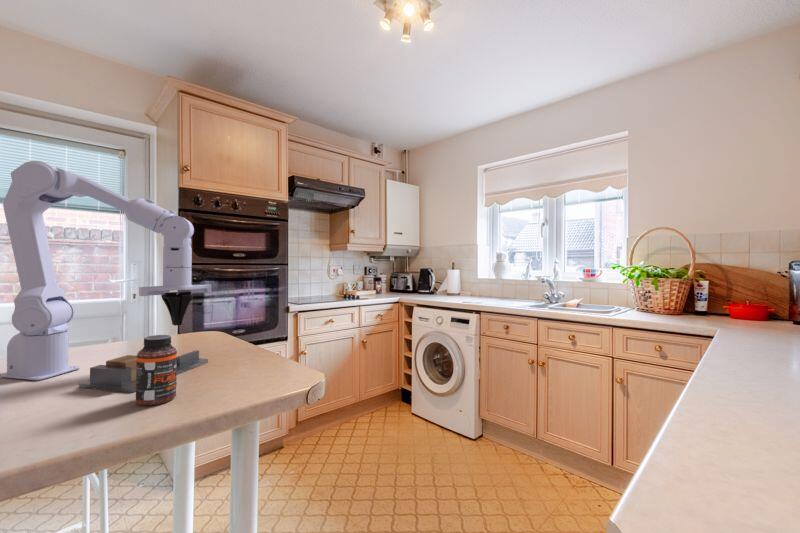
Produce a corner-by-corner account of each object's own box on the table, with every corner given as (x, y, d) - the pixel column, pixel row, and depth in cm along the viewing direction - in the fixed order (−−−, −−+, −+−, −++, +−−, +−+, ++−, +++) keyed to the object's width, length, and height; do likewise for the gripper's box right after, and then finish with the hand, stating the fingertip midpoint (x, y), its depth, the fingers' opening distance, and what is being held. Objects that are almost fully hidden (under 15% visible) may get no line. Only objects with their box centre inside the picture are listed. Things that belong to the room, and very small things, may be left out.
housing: (105, 381, 68) (106, 361, 68) (131, 372, 74) (131, 353, 74) (125, 383, 68) (125, 362, 68) (150, 374, 73) (150, 355, 73)
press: (78, 387, 67) (79, 366, 67) (164, 358, 87) (164, 343, 87) (132, 392, 65) (133, 371, 65) (208, 362, 85) (208, 345, 85)
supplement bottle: (155, 408, 59) (156, 341, 58) (126, 405, 60) (127, 339, 60) (184, 395, 64) (185, 334, 64) (157, 392, 66) (157, 332, 65)
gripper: (203, 266, 91) (202, 318, 91) (135, 266, 79) (134, 326, 80) (215, 267, 86) (214, 322, 86) (144, 267, 75) (144, 330, 75)
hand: (176, 324), depth 83 cm, fingers closed
